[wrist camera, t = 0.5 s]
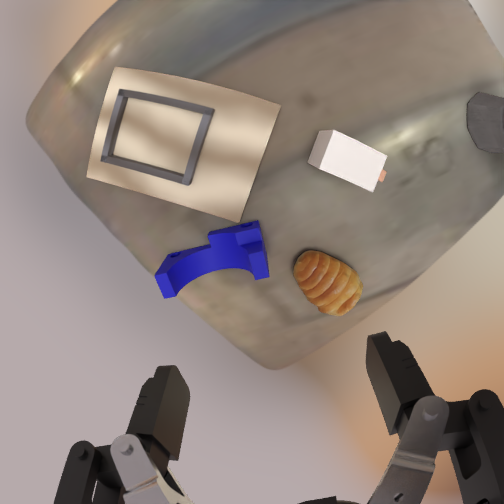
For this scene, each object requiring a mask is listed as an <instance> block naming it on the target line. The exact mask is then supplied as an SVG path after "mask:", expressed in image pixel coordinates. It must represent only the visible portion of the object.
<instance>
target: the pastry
mask: <svg viewBox="0 0 504 504" xmlns="http://www.w3.org/2000/svg"><path fill="white" fill-rule="evenodd" d="M293 275H294V277H295V279H296V280H297V282H298V285H299V287H300V289H301V290H302V291H303V292H304V294H305V295H306V297H307V300H308V301H309V302H311V303H313V304H314V305H316V306H317V307H318V310H319V311H320V312H322V313H327V314H330V315H336V316H342V315H344V314H345V313H347V312H348V311H350V310H351V309H352V308H353V307H354V306H355V304H356V302H357V301H358V300H359V299H360V297H361V294H362V289H363V284H362V282H361V281H360V279H359V276H358V274H357V272H356V271H355V270H353V269H352V268H350V267H349V266H347V265H346V264H345V263H343V262H341V261H339V260H337V259H335V258H333V257H331V256H329V255H327V254H325V253H322V252H320V251H312V250H310V251H306V252H304V253H303V254H302V255H300V256H299V258H298V259H297V261H296V263H295V265H294V273H293Z"/></svg>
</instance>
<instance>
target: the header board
mask: <svg viewBox="0 0 504 504" xmlns="http://www.w3.org/2000/svg"><path fill="white" fill-rule="evenodd" d="M280 107H281V105H279V104H276V103H273V102H270V101H267V100H264V99H261V98H258V97H255V96H252V95H248V94H245V93H242V92H238V91H235V90H232V89H228V88H224V87H221V86H217V85H213V84H209V83H205V82H201V81H196V80H192V79H187V78H183V77H178V76H173V75H168V74H162V73H156V72H150V71H144V70H137V69H130V68H121V67H115V68H114V71H113V74H112V77H111V80H110V83H109V86H108V89H107V92H106V95H105V99H104V102H103V106H102V109H101V113H100V116H99V120H98V124H97V128H96V132H95V136H94V141H93V145H92V150H91V155H90V160H89V165H88V171H87V177H89V178H92V179H96V180H99V181H103V182H106V183H110V184H113V185H116V186H120V187H123V188H127V189H130V190H134V191H137V192H140V193H144V194H147V195H150V196H154V197H157V198H160V199H164V200H167V201H170V202H173V203H177V204H180V205H183V206H186V207H190V208H193V209H196V210H199V211H202V212H206V213H209V214H212V215H215V216H218V217H221V218H224V219H228V220H231V221H234V222H237V223H239V222H240V219H241V216H242V213H243V210H244V207H245V204H246V202H247V199H248V196H249V193H250V190H251V187H252V184H253V182H254V179H255V176H256V173H257V170H258V168H259V165H260V162H261V159H262V156H263V154H264V151H265V148H266V145H267V143H268V140H269V137H270V134H271V132H272V129H273V126H274V124H275V121H276V118H277V115H278V113H279V110H280Z"/></svg>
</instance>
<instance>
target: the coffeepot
mask: <svg viewBox="0 0 504 504" xmlns="http://www.w3.org/2000/svg"><path fill="white" fill-rule="evenodd" d="M467 124H468V129H469V132H470V134H471V137H472V139H473V140H474V142H475V143H476V145H477V147H478V148H479V149H482V150H485V151H488V152H491V153H504V98H502V97H498V96H494V95H489V94H484V93H480V92H478V93H477V94H476V95H475V96H474V97H472V99H471V100H470V102H469V103H468V106H467Z"/></svg>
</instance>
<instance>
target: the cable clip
mask: <svg viewBox="0 0 504 504" xmlns="http://www.w3.org/2000/svg"><path fill="white" fill-rule="evenodd" d="M208 239H209V242H210V244H208V245H204V246H200V247H196V248H192V249H188V250H184V251H179V252H175V253H171V254H168V255H167V257H166V258H165V260H164V261H163V263H162V264H161V266H160V268H159V269H158V271H157V272H156V274H155V275H154V276H155V278H156V281H157V283H158V286H159V288H160V290H161V292H162V295H163V297H164V298H170V297H175V296H177V294H178V292H179V291H180V290H181V289H182V288H183V287H184V286H185V285H186V284H188V283H189V282H190V281H192V280H194V279H195V278H197V277H199V276H202V275H204V274H207V273H209V272H212V271H216V270H220V269H227V268H240V269H245V270H248V271H250V272H251V273H252V274H253V275H254V277H255V280H258V279H263V278H267V277H269V269H268V260H267V253H266V249H265V245H264V241H263V237H262V233H261V229H260V225H259V221H258V220H257V221H253V222H248V223H244V224H240V225H236V226H232V227H228V228H223V229H219V230H215V231H211V232H209V234H208Z"/></svg>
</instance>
